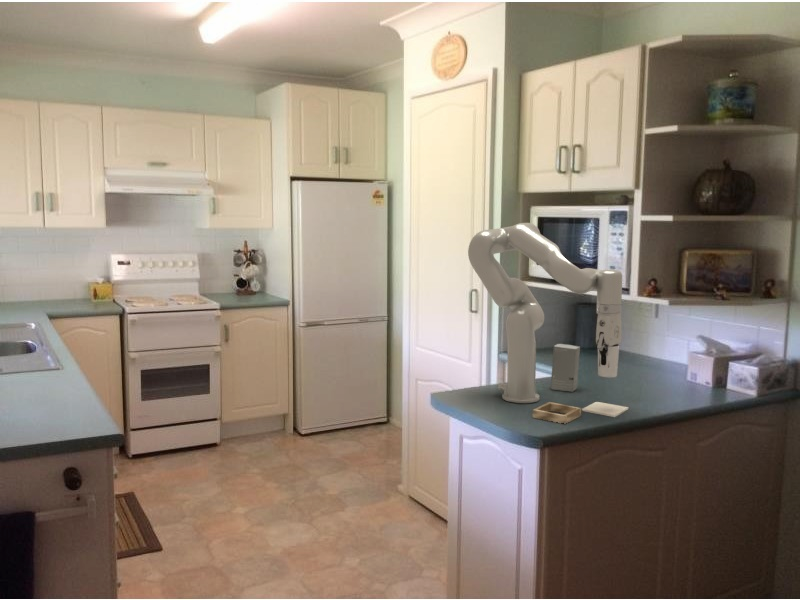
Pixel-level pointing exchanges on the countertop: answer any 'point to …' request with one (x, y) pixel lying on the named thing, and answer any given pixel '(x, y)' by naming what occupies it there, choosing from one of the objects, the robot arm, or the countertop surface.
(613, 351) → the drinking glass
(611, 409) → the coaster
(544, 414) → the wooden frame
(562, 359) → the skincare box
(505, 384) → the robot arm
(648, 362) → the countertop surface
